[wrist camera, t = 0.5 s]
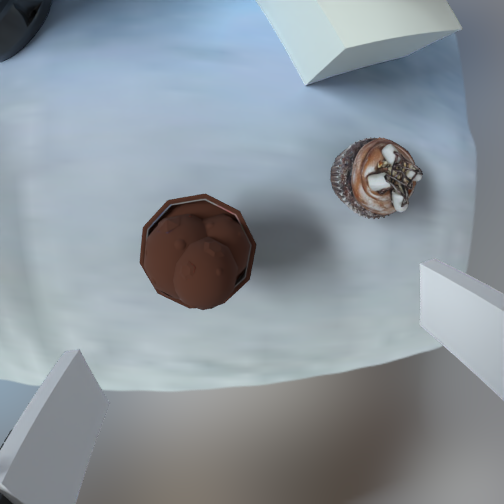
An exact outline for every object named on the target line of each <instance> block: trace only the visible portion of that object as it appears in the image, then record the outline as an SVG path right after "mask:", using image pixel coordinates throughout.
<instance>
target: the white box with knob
mask: <svg viewBox="0 0 504 504" xmlns="http://www.w3.org/2000/svg"><path fill="white" fill-rule="evenodd" d="M256 2H257V3H258V5H259V7H260V8H261V10H262V11H263V13H264V14H265V16H266V18H267V19H268V21H269V23H270V24H271V26H272V27H273V29H274V31H275V32H276V34H277V36H278V38H279V39H280V41H281V43H282V44H283V46H284V48H285V50H286V51H287V53H288V55H289V57H290V59H291V60H292V62H293V64H294V66H295V68H296V70H297V72H298V73H299V75H300V77H301V79H302V81H303V83H304V85H305V86H306V85H309V84H312V83H315V82H318V81H321V80H324V79H327V78H330V77H333V76H336V75H339V74H343V73H346V72H349V71H353V70H356V69H360V68H363V67H367V66H370V65H374V64H378V63H382V62H386V61H390V60H394V59H399V58H403V57H406V56H408V55H410V54H412V53H414V52H416V51H418V50H420V49H422V48H424V47H426V46H428V45H430V44H432V43H434V42H436V41H438V40H440V39H443V38H445V37H447V36H449V35H451V34H453V33H456V32H458V31H460V30H462V27H461V25H460V23H459V21H458V19H457V17H456V16H455V14H454V12H453V11H452V9H451V7H450V5H449V4H448V2H447V1H446V0H256Z"/></svg>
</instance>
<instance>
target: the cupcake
mask: <svg viewBox="0 0 504 504" xmlns="http://www.w3.org/2000/svg"><path fill="white" fill-rule="evenodd" d="M422 175H423V173H422V171H421V169H420V168H418V166H416V165H415V163H414V160H413V158H412V157H411V155H410V153H409V152H408V151H407V150H406V149H404V148H403V147H401V146H400V145H399V144H397V143H395V142H393V141H391V140H388V139H385V138H380V137H379V138H373V139H372V138H368V139H367V138H366V139H363V140H359V141H358V142H355V143H354V144H352V145H350V146H349V147H348V148H347V149H346V150H344V151H343V152H342V153H341V154H340V155H339V156H337V157H336V158H335V162H334V163H333V165H332V168H331V183H332V188H333V190H334V192H335V194H336V195H337V196H338V197H339V198H340V200H341V201H342V202H344V203H345V204H346V205H347V206H348V207H349V208H350V209H351V210H353V211H354V212H355V213H358V214H359V216H363V217H364V218H366V217H367V218H368V219H369V218H371V217H372V218H373V219H375V218H378V219H379V218H380V217H383V218H385V216H386V215H388V216H389V214H391V213H394V212H395V211H398V212H404V211H405V210H406V209H407V207H408V204H409V202H408V199H409V198H410V196H411V195H412V193H413V190H414V188H415V185H416V181H420V179H421V178H422Z"/></svg>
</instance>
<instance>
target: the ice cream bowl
mask: <svg viewBox="0 0 504 504" xmlns="http://www.w3.org/2000/svg"><path fill="white" fill-rule="evenodd" d="M255 249H256V243H255V241H254V239H253V237H252V235H251V233H250V231H249V229H248V227H247V225H246V223H245V221H244V219H243V216H242V214H241V212H240V211H239V210H237V209H235V208H233V207H231V206H229V205H227V204H225V203H223V202H221V201H219V200H217V199H215V198H213V197H211V196H209V195H207V194H201V195H195V196H189V197H183V198H177V199H172V200H168V201H167V202H166V203H165V204H164V205H163V206H162V207H161V208H160V209H159V210H158V211H157V212H156V214H155V215H154V216H153V217H152V218H151V219H150V220H149V221H148V222H147V223H146V224H145V226H144V227H143V232H142V242H141V253H140V264H141V266H142V268H143V269H144V271H145V273H146V275H147V276H148V278H149V280H150V281H151V283H152V285H153V286H154V288H155V290H156V291H157V293H158V294H160V295H162V296H164V297H166V298H168V299H171V300H173V301H175V302H177V303H179V304H181V305H183V306H186V307H188V308H198V309H201V310H205V309H212V308H214V307H216V306H218V305H221V304H223V303H225V302H226V301H227V300H228V299H229V298H230V297H232V296H233V295H234V294H235V293H236V292H237V291H238V290H239V289H240V288H241V287H242V286H243V285H244V284H245V283H247V282H248V281H249V280H250V275H251V270H252V265H253V260H254V254H255Z"/></svg>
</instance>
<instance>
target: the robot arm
mask: <svg viewBox="0 0 504 504" xmlns="http://www.w3.org/2000/svg"><path fill="white" fill-rule="evenodd" d="M51 1H52V0H0V62H1V61H4V60H6V59H8V58H10V57H12V56H13V55H15V54H16V53H17V52H18V51H20V50H21V49H22V48H23V47H24V46H25V45H26V44H27V43H28V42H29V41H30V40H31V39H32V38H33V36H34V35H35V34H36V32H37V31H38V30H39V28H40V27H41V25H42V24H43V22H44V20H45V18H46V16H47V14H48V12H49V9H50V6H51ZM420 326H421V327H422V328H424V329H425V330H426V331H427V332H428V333H429V334H431V335H432V336H433V337H434V338H435V339H436V340H438V341H439V342H440V343H441V344H442V345H443V346H444V347H445V348H447V349H448V350H449V351H450V352H451V353H452V354H453V355H455V356H456V357H457V358H458V359H459V360H460V361H461V362H462V363H463V364H465V365H466V366H467V367H468V368H469V369H470V370H471V371H472V372H473V373H474V374H475V375H477V376H478V377H479V378H480V379H481V380H482V381H483V382H484V383H485V384H486V385H487V386H488V387H489V388H490V389H492V390H493V391H494V392H495V393H496V394H497V395H498V396H499V397H500V398H501V399H502V400H503V401H504V293H501V292H499V291H498V290H496V289H494V288H492V287H491V286H489V285H487V284H485V283H483V282H481V281H479V280H477V279H475V278H473V277H471V276H470V275H468V274H466V273H464V272H462V271H460V270H458V269H456V268H454V267H452V266H450V265H448V264H446V263H444V262H442V261H440V260H438V259H435V258H434V259H431V260H428V261H425V262H422V263H420ZM109 404H110V402H109V401H108V399H107V397H106V396H105V394H104V393H103V391H102V389H101V387H100V386H99V384H98V382H97V381H96V379H95V377H94V375H93V374H92V372H91V370H90V368H89V366H88V364H87V363H86V361H85V359H84V357H83V355H82V353H81V351H80V349H77V350H71V351H65V352H64V353H63V354H62V356H61V357H60V359H59V360H58V361H57V363H56V364H55V366H54V367H53V369H52V370H51V371H50V373H49V374H48V376H47V377H46V379H45V380H44V382H43V383H42V384H41V386H40V387H39V389H38V390H37V392H36V393H35V395H34V397H33V398H32V400H31V401H30V403H29V404H28V406H27V407H26V409H25V410H24V412H23V414H22V415H21V417H20V419H19V420H18V422H17V423H16V425H15V426H14V428H13V429H12V430H11V431H10V433H9V434H8V436H7V438H6V439H5V441H4V442H5V443H4V444H2V446H1V448H0V504H76V500H77V497H78V494H79V491H80V487H81V484H82V481H83V478H84V475H85V472H86V469H87V466H88V462H89V460H90V457H91V454H92V450H93V448H94V445H95V442H96V439H97V437H98V433H99V431H100V428H101V426H102V423H103V420H104V418H105V415H106V412H107V410H108V407H109Z"/></svg>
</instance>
